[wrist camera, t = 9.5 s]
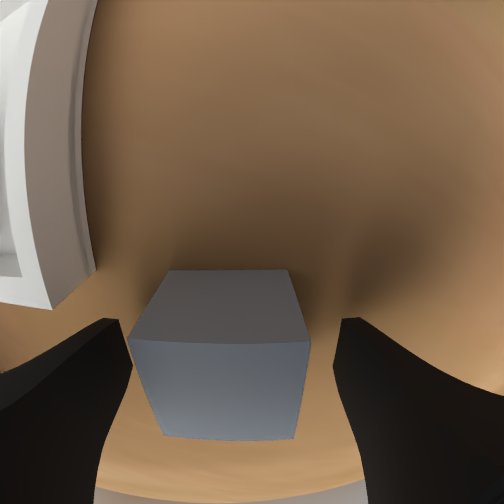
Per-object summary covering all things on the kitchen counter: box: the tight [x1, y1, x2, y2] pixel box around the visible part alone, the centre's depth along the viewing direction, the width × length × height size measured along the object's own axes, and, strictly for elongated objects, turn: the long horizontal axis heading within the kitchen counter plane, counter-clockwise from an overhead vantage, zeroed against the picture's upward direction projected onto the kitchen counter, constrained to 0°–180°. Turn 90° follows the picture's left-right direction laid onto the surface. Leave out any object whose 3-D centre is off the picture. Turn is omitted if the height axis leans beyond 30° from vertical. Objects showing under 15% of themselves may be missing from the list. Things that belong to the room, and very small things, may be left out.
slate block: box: [127, 269, 311, 441], centre depth 8 cm, size 4×4×4 cm
